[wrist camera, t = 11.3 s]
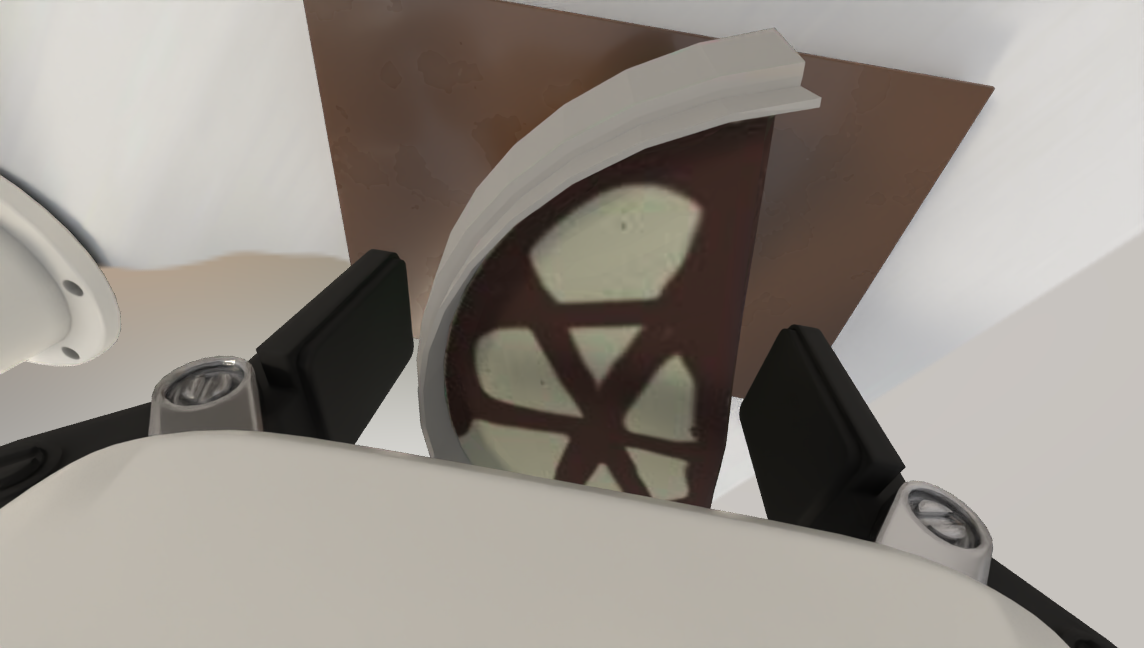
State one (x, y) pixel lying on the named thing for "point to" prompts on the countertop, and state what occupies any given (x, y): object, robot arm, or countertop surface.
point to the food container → (611, 278)
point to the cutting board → (576, 65)
